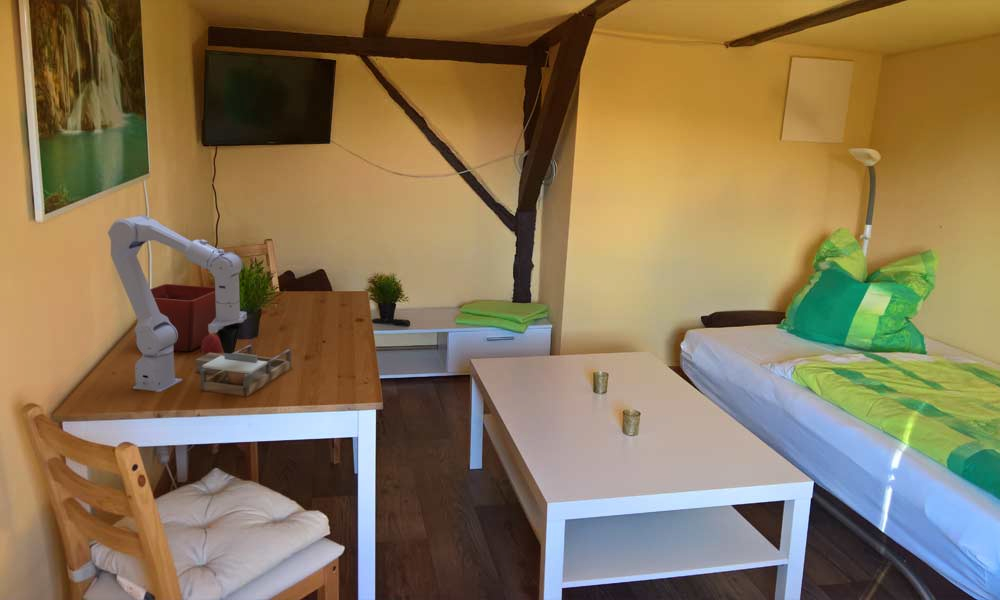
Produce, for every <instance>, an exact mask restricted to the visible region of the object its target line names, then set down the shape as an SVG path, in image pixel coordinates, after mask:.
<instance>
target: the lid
mask: <svg viewBox="0 0 1000 600" xmlns="http://www.w3.org/2000/svg"><path fill="white" fill-rule="evenodd" d="M236 352H237V351H234V352H233V353H231V354H229V353H224V352H223V354H224V356H219V357H217V358H215V359H214V360H212V361H210V362H208V363H206V364H204V365H202V367H203V368H211V369H218V370H226V371H234V372H242V373H250V374H251V373H253V372H254V371H256V370H258V369H259V368H261V367H263V366H264V365H266V364H267V361H259V360H257V356H258V354H253V353H252V354H247V353H242V352H239V353H236Z"/></svg>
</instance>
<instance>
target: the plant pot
mask: <svg viewBox="0 0 1000 600" xmlns="http://www.w3.org/2000/svg"><path fill="white" fill-rule="evenodd" d="M150 290H151V292H152V295H153V297H154V299H155V302H156V304H157V307H158V309H159V312H160V313H161V314H163V315H165V316H166V317H168V319H169V321H170V323H171V324H172V325H173V326H174V327H175V328H176V330H177V332H178V339H177V341H176V342H175V343H174V348H173V351H180V352H191V351H193V350H195V349H198V348H199V347H201V344H202V341H203V339H204V338H205V337H206V336H208V335H209V333H210V332H209V330H208V325H209V324H211V323H212V322H213V320H214V319H215V318H216V297H215V286H200V285H186V284H172V283H165V284H160V285H159V286H155V287H152V288H150Z"/></svg>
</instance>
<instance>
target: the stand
mask: <svg viewBox="0 0 1000 600" xmlns="http://www.w3.org/2000/svg"><path fill="white" fill-rule="evenodd" d="M219 356H224V353H219V354H218V353H208V354H206V355H205V354H204V355H202V356H199V357H198V358H196V359H195V360H194V361H195V362H194V364H195V365H194V366H195V373H199V374H200V371H201V370H202V369H204V368H203V367H202V365H204V364H206V363H208V362H210V361H212V360H214V359H215V358H217V357H219ZM219 371H221V370H218V369H211V368H209V369H207V370H206V375H214V374H216V373H218V372H219Z"/></svg>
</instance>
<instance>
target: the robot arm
mask: <svg viewBox="0 0 1000 600" xmlns="http://www.w3.org/2000/svg"><path fill="white" fill-rule="evenodd" d="M107 235H108V236H109V239H110V257H111V259H112V262H113V264H114V267H115V269H116V271H117V274H118V276H119V278H120V279H119V280H120V281H121V284H122V286H123V288H124V290H125V293H126V294H127V297H128V299H129V303H130V305H131V307H132V309H133V311H134V314H135V316H136V319H137V323H136V326H135V327H134V332H135V335H136V346H137V348H138V350H139V351H140V353H142V356H141V358H140V359H138V360H137V361H136V362H135V365H134V375H135V385H134V386H133V387H132V388H133V390H139V391H142V390H143V391H148V392H149V391H152V392H156V393H157V392H158V393H160V392H163V391H165V390H167V389H168V388H171V387H172V386H175V385H176V384H178V383H180V382H182V381H183V379H182V378H177V377H176V375H175V374H176V373H175V354H174V350H173V348H174V343H175V342H176V341H177V339H178V332H177V330H176V328H175V327H174V326H173V325H172V324H171V323H170V321H169V319H168V317H166V316H165V315H163V314H161V313H160V312H159V309H158V307H157V304H156V302H155V299H154V297H153V295H152V292H151V290H150V289H151V288H150V285H149V283H148V281H147V278H146V276H145V273H144V270H143V268H142V266H141V263H140V260H139V259H138V256H137V255H138V254H139V252H140V251H141V248H142V246H143V245H144V244H146V243H147V242H150V241H156V242H158V243H159V244H163V245H165V246H167V247H170V248H171V249H174V250H176V251H179V252H182V253H183V254H184V255H185V258H186V260H187V261H189V262H192V263H194V264H196V265H197V266H199V267H202V268H203V269H206V270H208V271H210V273H211V275H212V276H213V278H214V287H215V297H216V318H215V319H214V320H213V322H212V323H211V324H209V325H208V330H209V332H213V333H214V334H215V335H216V336H218V337H219V339H220V342H221V345H222V351H223V354H224V353H229V354H231V353H233V352H236V351H235V350H236V345H237V342H238V339H239V335H240V333H241V332H242V330H243V327H244V325H243V324H242V323H244V321H245V320H247V318H248V316H247V311H241V309H240V308H241V307H240V305H241V304H240V303H241V302H240V299H241V298H240V277H239V276H240V274H239V273H241V271H242V269H243V261H242V258H241V257H240V256H239V255H238V254H236V253H235V252H232V251H228V252H225V250H224V249H223V248H216V247H214V246H212V245H210V244H209V243H208V240H205V239H203V238H202V239H195V240H190V239H188V238H187V237H184V236H183V235H181V234H179V233H178V232H175V231H173V230H172V229H170V228H168V227H166V226H165V225H163V224H161V223H160V222H159V221H157V220H156V219H153V218H150V217H149V216H146V215H144V214H142V215H140V214H139V215H136V216H133V217H128V218H119V219H117V220H115V221H114V222H113V223H112V224H111V226H110V227H109V229H108V231H107Z"/></svg>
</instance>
